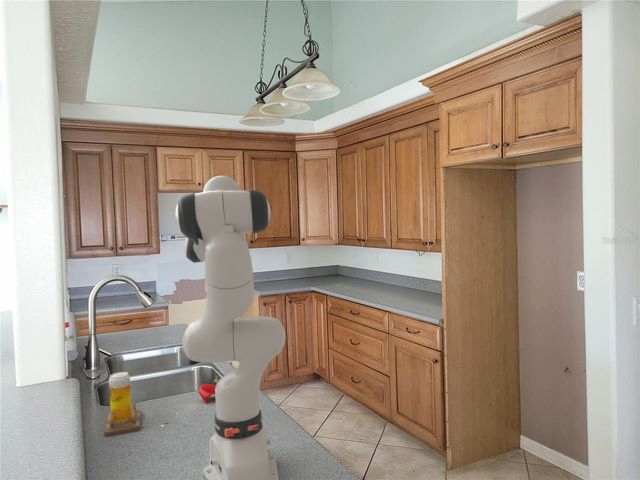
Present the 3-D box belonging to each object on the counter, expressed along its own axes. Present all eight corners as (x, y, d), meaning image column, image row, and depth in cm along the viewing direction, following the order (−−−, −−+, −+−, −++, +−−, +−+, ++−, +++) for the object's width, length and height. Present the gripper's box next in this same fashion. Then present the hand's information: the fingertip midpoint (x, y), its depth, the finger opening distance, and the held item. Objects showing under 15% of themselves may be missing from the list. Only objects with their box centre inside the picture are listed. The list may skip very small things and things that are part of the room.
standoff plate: (140, 430, 146) (139, 413, 146) (104, 436, 143) (103, 419, 143) (140, 413, 160) (139, 398, 159) (108, 418, 156) (107, 403, 156)
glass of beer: (108, 421, 151) (105, 375, 150) (127, 415, 155) (125, 370, 155) (115, 427, 147) (112, 379, 146) (135, 420, 151) (132, 374, 150)
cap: (199, 397, 164) (214, 386, 165) (194, 386, 168) (208, 376, 170) (210, 410, 168) (224, 399, 170) (205, 399, 173) (218, 389, 174)
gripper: (199, 267, 163) (201, 307, 164) (242, 269, 151) (244, 312, 152) (213, 265, 168) (215, 304, 169) (256, 267, 157) (257, 309, 157)
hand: (229, 308), depth 160 cm, fingers open, 8 cm apart
